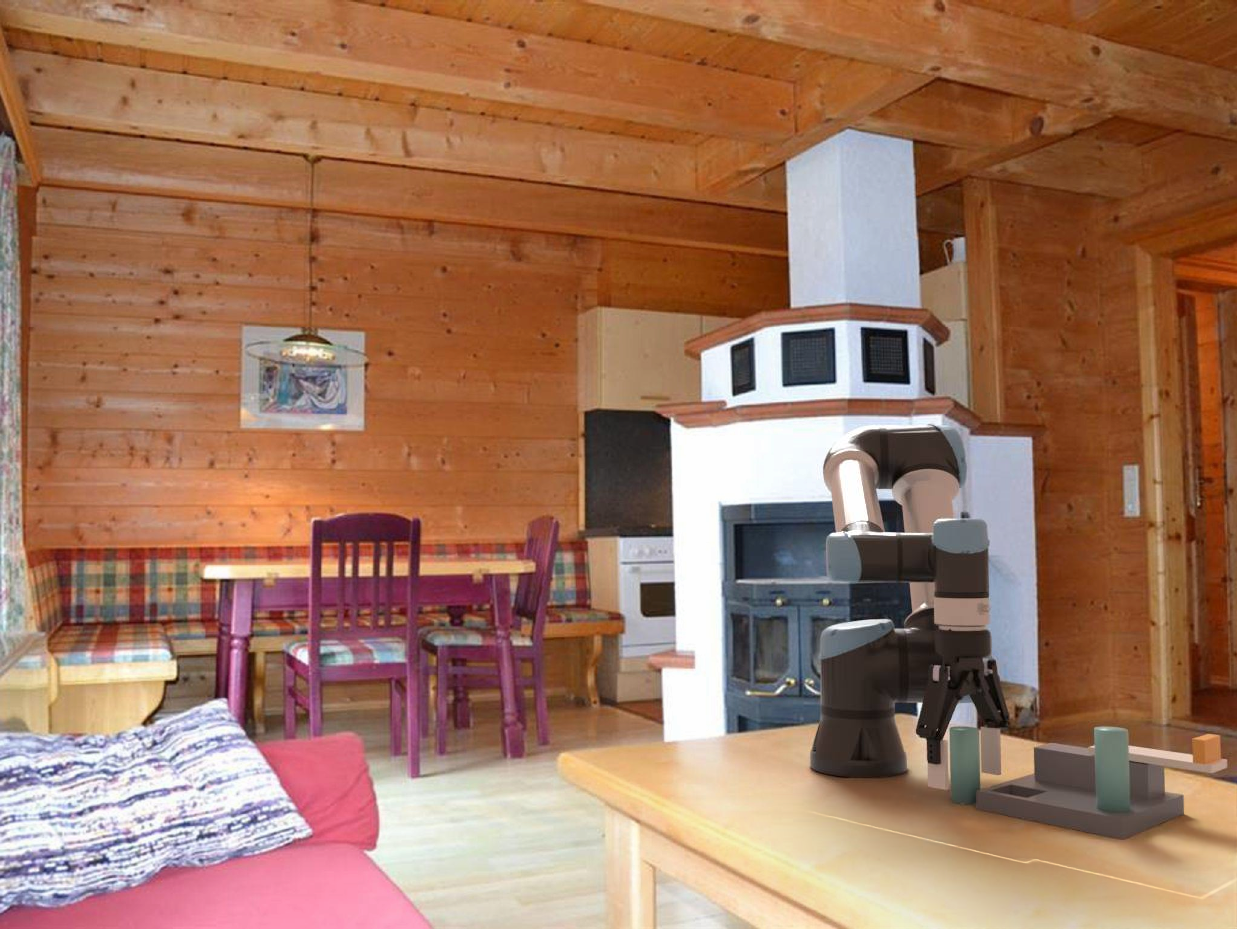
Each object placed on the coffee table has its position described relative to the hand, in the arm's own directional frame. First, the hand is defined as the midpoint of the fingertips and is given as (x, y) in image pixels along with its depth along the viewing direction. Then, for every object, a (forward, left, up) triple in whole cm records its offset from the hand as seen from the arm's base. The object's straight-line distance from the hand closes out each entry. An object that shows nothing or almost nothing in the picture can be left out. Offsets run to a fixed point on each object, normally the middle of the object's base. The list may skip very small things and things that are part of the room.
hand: (965, 780), depth 160 cm
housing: (+13, +6, -3) cm, 15 cm away
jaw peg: (0, 0, -3) cm, 3 cm away
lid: (+21, +12, +4) cm, 25 cm away
